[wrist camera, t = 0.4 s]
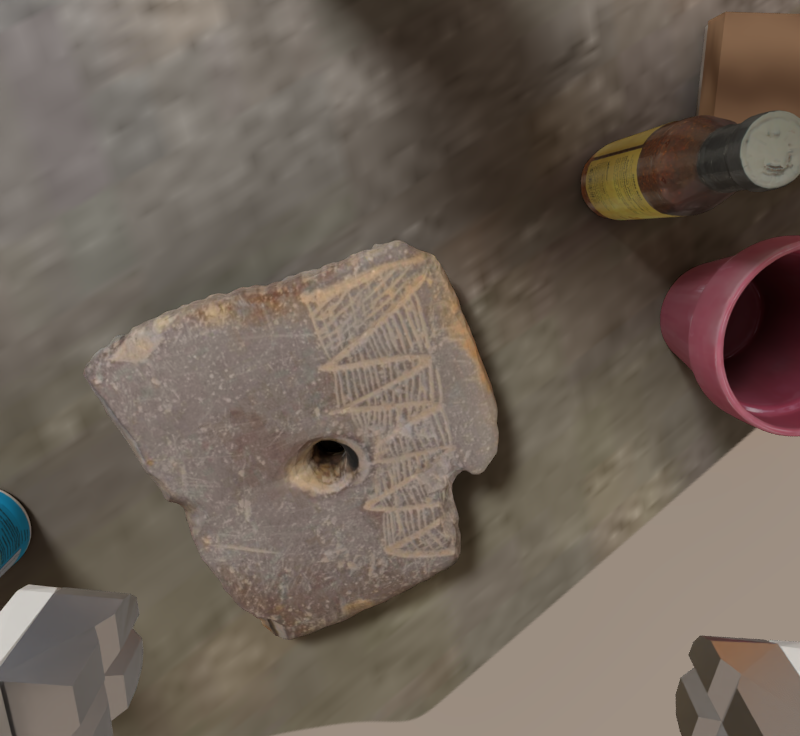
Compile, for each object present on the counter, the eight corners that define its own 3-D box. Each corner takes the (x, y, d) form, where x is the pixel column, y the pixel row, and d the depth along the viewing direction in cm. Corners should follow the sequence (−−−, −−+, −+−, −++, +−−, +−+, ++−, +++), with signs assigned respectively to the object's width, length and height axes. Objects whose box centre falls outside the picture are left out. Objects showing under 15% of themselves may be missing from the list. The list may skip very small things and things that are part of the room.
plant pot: (816, 303, 56) (949, 328, 44) (705, 420, 58) (804, 475, 46) (712, 196, 53) (824, 191, 41) (599, 323, 55) (673, 355, 43)
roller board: (692, 29, 50) (730, 9, 45) (826, 32, 51) (876, 13, 46) (680, 148, 52) (715, 141, 47) (808, 149, 53) (855, 143, 48)
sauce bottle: (620, 234, 53) (777, 245, 34) (562, 193, 52) (690, 181, 33) (666, 165, 52) (854, 137, 33) (607, 122, 51) (767, 67, 32)
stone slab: (87, 347, 52) (54, 365, 46) (408, 199, 51) (416, 197, 45) (260, 634, 60) (250, 681, 54) (540, 508, 59) (562, 542, 53)
